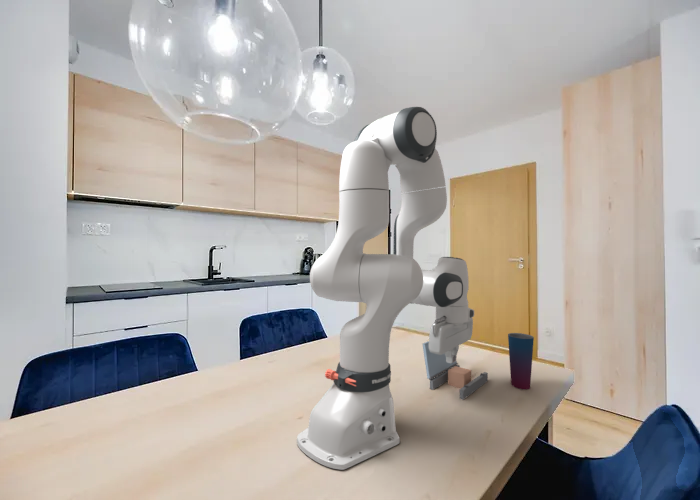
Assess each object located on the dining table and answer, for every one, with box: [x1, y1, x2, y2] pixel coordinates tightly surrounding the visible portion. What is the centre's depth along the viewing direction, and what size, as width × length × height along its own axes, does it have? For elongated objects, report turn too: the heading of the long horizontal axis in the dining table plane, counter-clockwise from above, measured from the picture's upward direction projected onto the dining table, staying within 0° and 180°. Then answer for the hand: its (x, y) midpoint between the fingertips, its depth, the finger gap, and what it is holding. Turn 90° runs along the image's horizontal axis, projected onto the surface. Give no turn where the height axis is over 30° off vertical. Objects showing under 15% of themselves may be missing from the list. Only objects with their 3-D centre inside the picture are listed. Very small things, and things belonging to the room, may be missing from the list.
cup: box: [507, 332, 535, 390], centre depth 95 cm, size 7×7×15 cm
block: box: [447, 366, 472, 390], centre depth 95 cm, size 5×5×4 cm
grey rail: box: [429, 364, 489, 401], centre depth 95 cm, size 18×10×3 cm, turn 137°
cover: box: [422, 341, 459, 381], centre depth 100 cm, size 18×10×2 cm
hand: (451, 361), depth 91 cm, fingers closed
